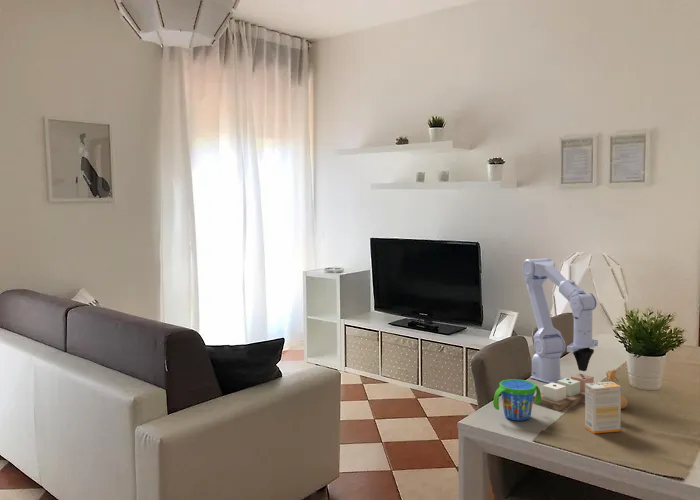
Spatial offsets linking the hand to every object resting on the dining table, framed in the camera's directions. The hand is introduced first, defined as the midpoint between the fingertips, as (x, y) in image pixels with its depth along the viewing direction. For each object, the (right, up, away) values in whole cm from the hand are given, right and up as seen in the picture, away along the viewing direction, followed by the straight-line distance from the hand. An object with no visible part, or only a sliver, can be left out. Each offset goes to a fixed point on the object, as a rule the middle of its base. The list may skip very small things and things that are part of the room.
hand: (582, 370), depth 193 cm
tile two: (-6, -7, -4) cm, 10 cm away
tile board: (-6, -9, -4) cm, 11 cm away
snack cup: (-27, -10, -18) cm, 34 cm away
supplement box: (-6, -11, -29) cm, 32 cm away
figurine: (+5, -9, -13) cm, 17 cm away
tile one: (-12, -7, -8) cm, 16 cm away
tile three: (0, -6, +1) cm, 6 cm away
